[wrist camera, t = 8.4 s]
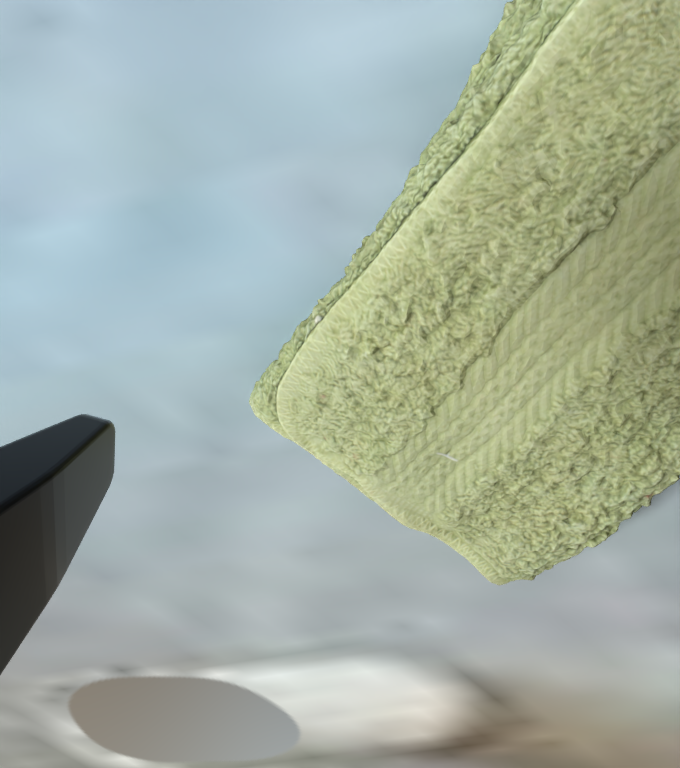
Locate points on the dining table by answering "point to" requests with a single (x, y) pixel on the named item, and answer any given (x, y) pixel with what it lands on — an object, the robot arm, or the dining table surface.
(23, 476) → the robot arm
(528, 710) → the dining table surface
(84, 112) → the dining table surface
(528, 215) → the washcloth
